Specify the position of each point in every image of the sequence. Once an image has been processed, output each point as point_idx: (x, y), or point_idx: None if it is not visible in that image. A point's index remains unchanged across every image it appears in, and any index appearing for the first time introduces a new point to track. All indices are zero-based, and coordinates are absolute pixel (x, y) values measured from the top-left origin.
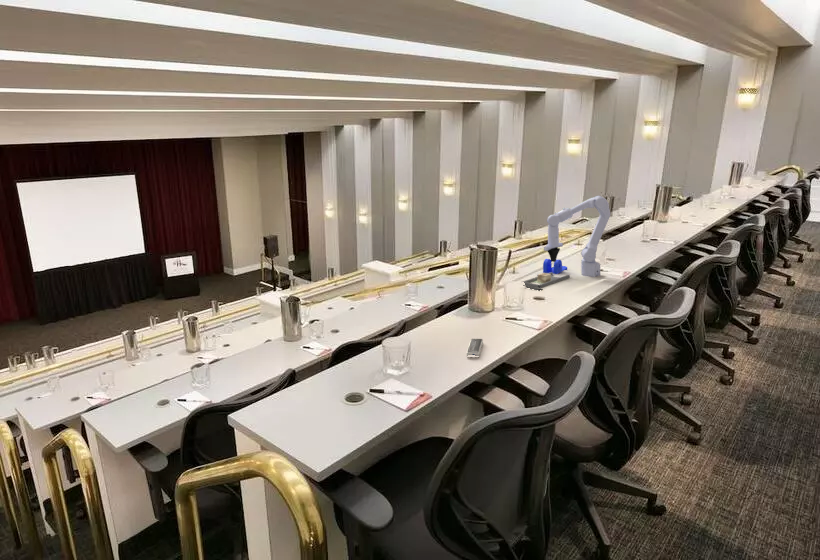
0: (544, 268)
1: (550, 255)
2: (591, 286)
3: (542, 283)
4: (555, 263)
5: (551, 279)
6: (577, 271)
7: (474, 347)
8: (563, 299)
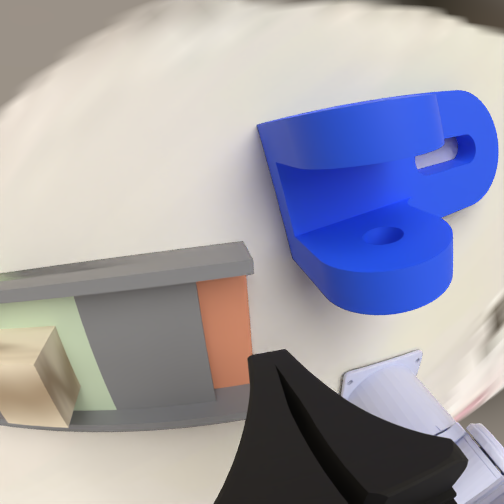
0: (281, 138)
1: (258, 431)
2: None
3: None
4: (352, 289)
5: (116, 360)
6: (467, 259)
7: None
8: (20, 490)
